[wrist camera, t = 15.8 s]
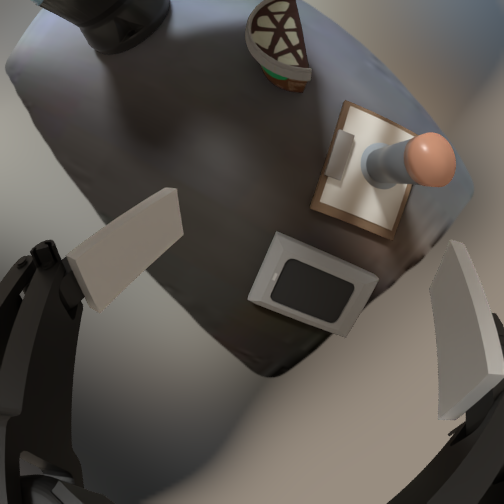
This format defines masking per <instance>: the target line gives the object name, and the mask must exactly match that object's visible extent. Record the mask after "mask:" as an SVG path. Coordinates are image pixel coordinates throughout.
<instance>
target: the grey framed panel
mask: <svg viewBox="0 0 504 504" xmlns="http://www.w3.org/2000/svg"><path fill="white" fill-rule="evenodd" d="M378 281H379V278H378V277H377V276H376V275H375V274H373V273H371V272H369V271H366V270H364V269H362V268H360V267H358V266H355V265H353V264H351V263H349V262H346V261H344V260H342V259H340V258H338V257H335V256H333V255H331V254H328V253H326V252H324V251H322V250H319V249H317V248H315V247H312V246H310V245H308V244H306V243H303V242H301V241H299V240H296V239H294V238H292V237H289V236H287V235H285V234H282V233H280V232H277V231H276V233H275V235H274V238H273V240H272V242H271V245H270V247H269V249H268V252H267V254H266V256H265V259H264V261H263V263H262V265H261V268H260V270H259V272H258V275H257V277H256V279H255V282H254V284H253V286H252V288H251V291H250V293H249V296H248V300H249V301H251V302H253V303H255V304H257V305H260V306H262V307H265V308H267V309H270V310H272V311H275V312H278V313H280V314H283V315H285V316H288V317H291V318H293V319H296V320H298V321H301V322H304V323H306V324H309V325H312V326H314V327H317V328H320V329H323V330H325V331H328V332H331V333H334V334H337V335H340V336H342V337H346V336H347V334H348V333H349V331H350V330H351V328H352V327H353V325H354V323H355V322H356V320H357V318H358V317H359V315H360V313H361V311H362V310H363V308H364V306H365V304H366V303H367V301H368V299H369V297H370V295H371V294H372V292H373V290H374V288H375V286H376V284H377V282H378Z"/></svg>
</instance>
